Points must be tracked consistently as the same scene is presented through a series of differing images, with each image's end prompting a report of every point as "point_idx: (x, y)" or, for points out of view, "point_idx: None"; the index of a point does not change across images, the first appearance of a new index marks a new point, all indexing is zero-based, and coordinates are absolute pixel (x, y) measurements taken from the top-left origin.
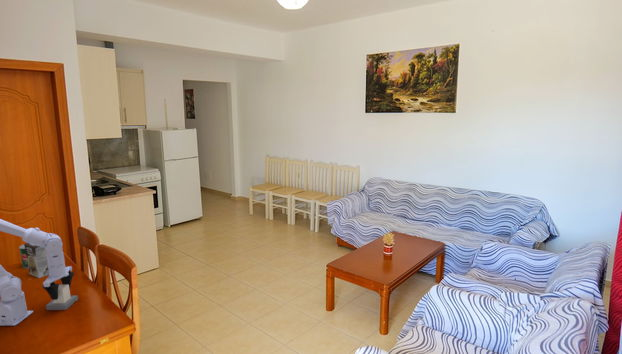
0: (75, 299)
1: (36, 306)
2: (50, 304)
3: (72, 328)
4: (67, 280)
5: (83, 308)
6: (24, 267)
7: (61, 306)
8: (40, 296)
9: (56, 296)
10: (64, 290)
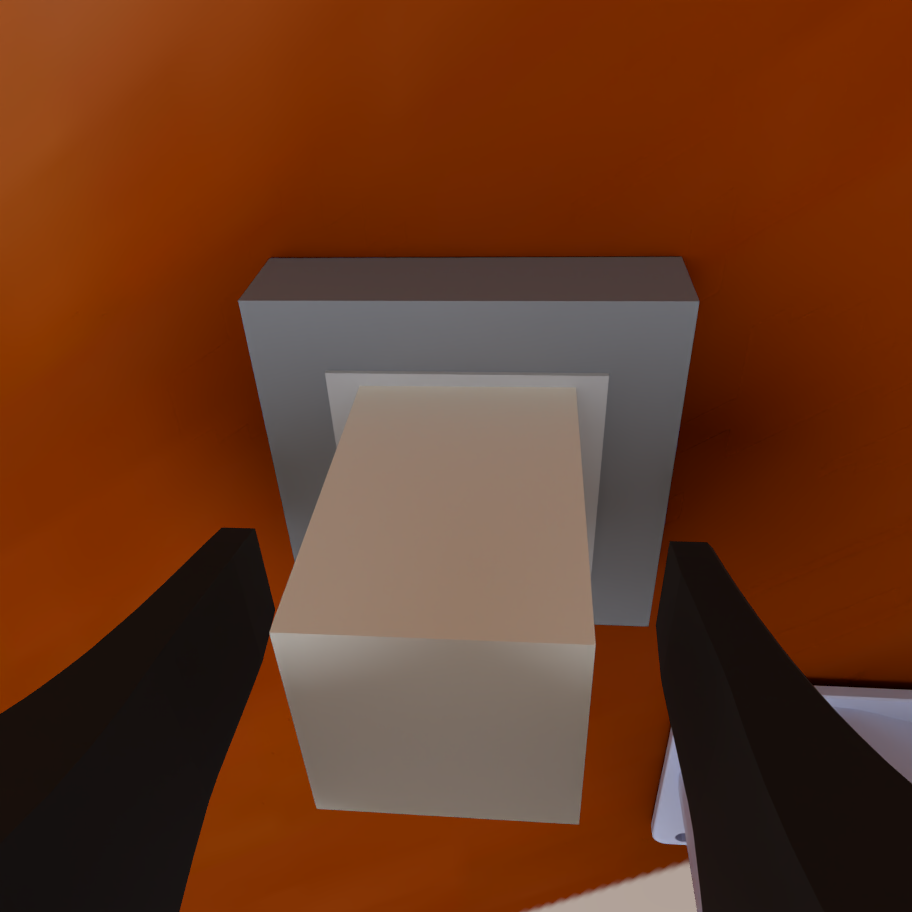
0: (343, 277)
1: None
2: (621, 581)
3: None
4: (137, 764)
5: None
6: None
7: (684, 371)
8: (287, 776)
9: (742, 600)
10: (510, 574)
